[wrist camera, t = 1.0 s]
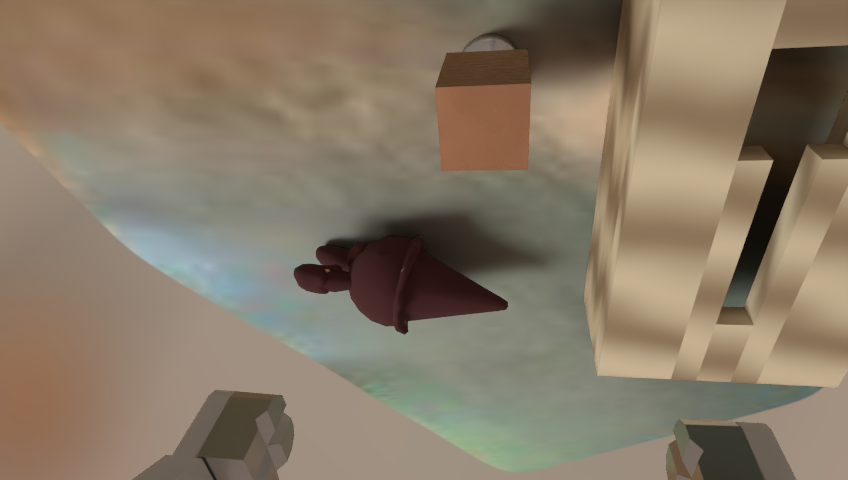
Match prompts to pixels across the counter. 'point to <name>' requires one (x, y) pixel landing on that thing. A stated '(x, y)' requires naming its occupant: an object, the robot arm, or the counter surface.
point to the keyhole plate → (714, 203)
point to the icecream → (396, 282)
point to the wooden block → (484, 106)
